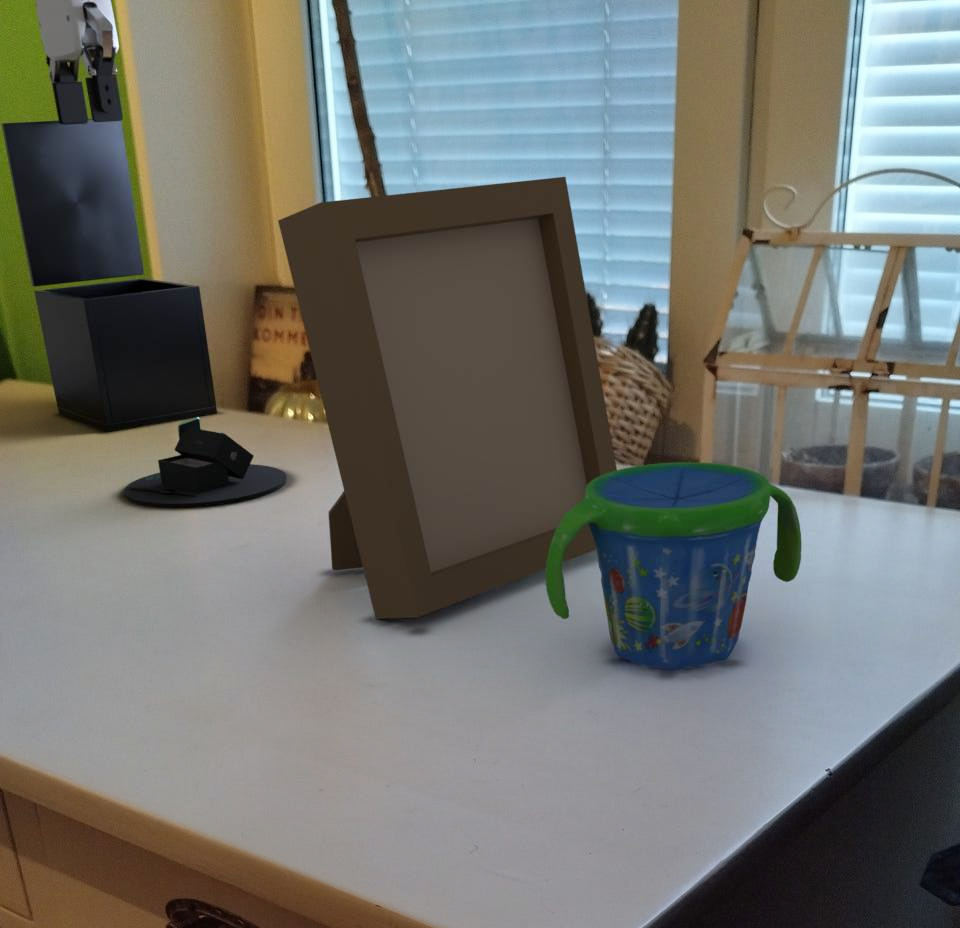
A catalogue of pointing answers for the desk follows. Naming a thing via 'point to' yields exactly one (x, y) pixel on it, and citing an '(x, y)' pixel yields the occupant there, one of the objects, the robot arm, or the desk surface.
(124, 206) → the lid
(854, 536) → the desk surface
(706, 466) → the snack cup
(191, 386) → the bin
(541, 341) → the photo frame
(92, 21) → the robot arm
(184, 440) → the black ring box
